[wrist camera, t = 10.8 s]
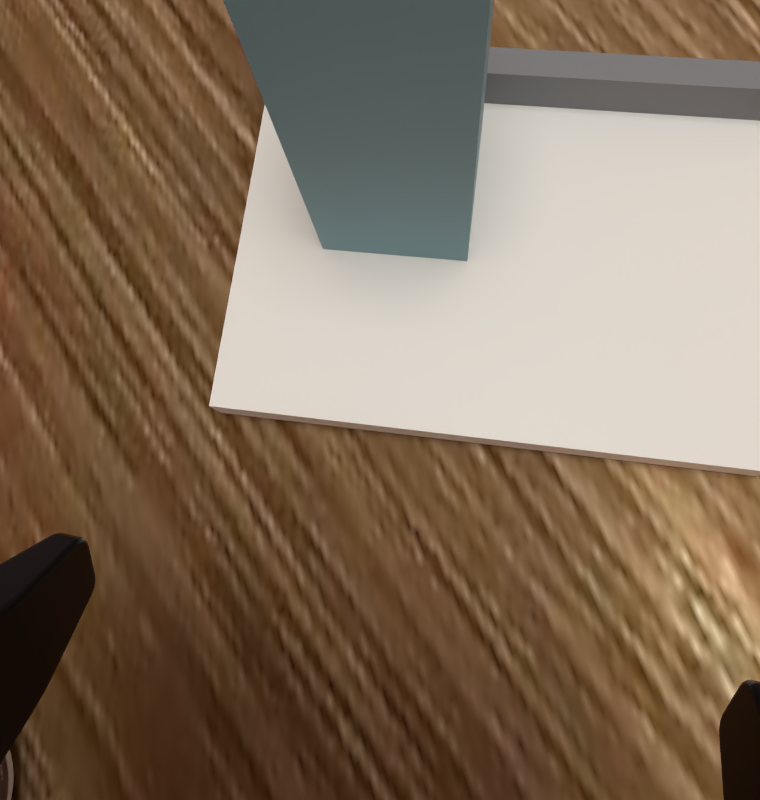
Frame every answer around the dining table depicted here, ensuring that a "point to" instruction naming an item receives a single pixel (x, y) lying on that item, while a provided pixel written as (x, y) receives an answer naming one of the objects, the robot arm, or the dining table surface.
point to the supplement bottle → (6, 777)
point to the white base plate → (534, 278)
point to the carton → (376, 114)
